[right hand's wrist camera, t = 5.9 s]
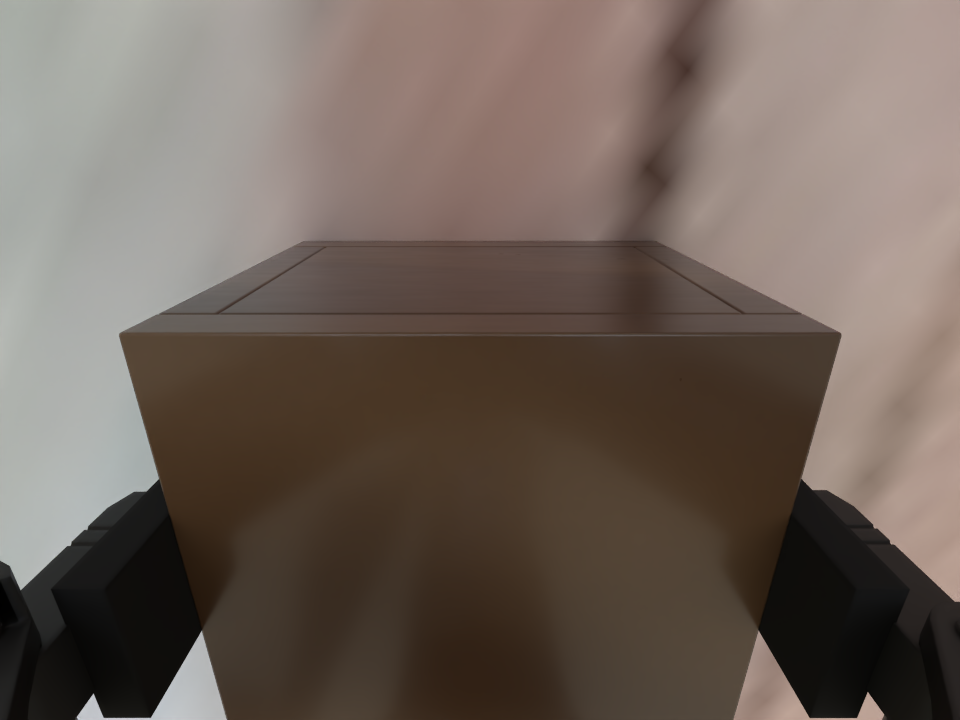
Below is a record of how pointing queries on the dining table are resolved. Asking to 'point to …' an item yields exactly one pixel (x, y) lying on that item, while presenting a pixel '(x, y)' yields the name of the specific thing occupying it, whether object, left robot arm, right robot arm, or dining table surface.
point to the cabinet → (480, 476)
